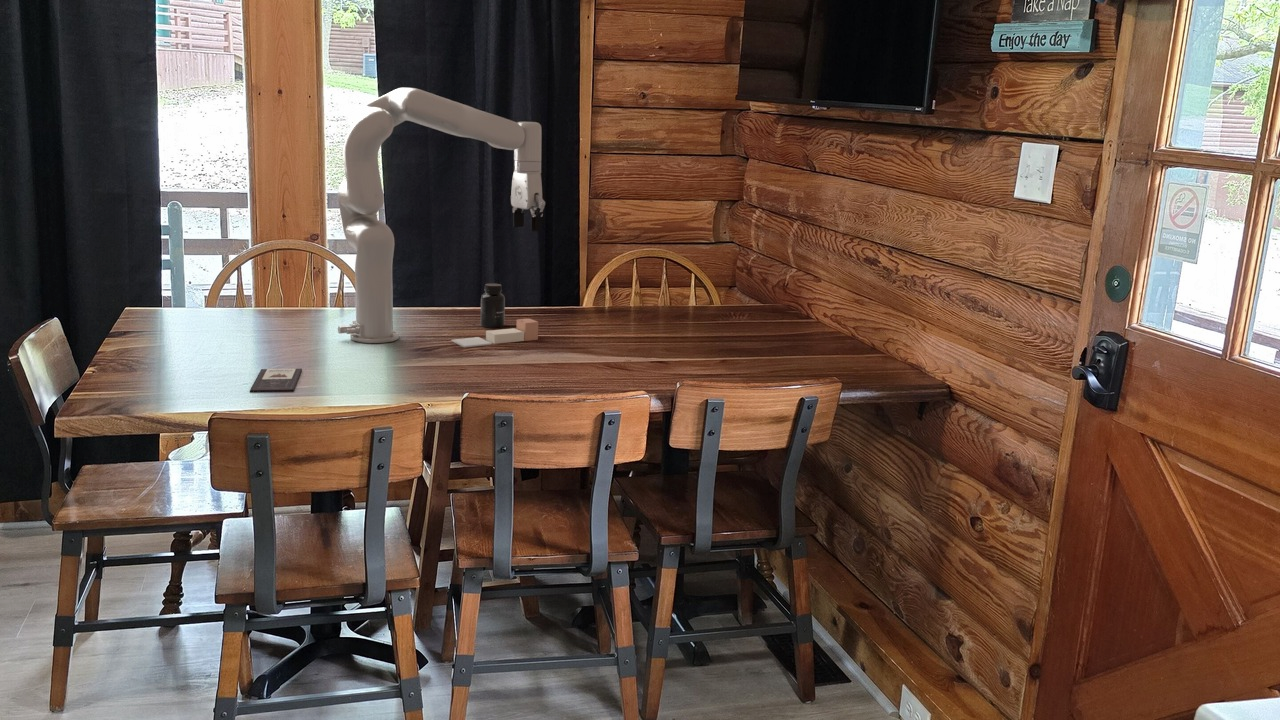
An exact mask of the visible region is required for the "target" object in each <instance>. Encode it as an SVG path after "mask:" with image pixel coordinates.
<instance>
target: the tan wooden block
mask: <svg viewBox="0 0 1280 720" xmlns="http://www.w3.org/2000/svg"><path fill="white" fill-rule="evenodd" d="M515 328H517V329H519V330H522V331H524V341H525V342H526V341H527V342H528V341H536V340H539V321H537V320H536V319H532V318H519V319H516V327H515ZM524 341H523V342H524Z"/></svg>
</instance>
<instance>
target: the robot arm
mask: <svg viewBox="0 0 1280 720" xmlns="http://www.w3.org/2000/svg"><path fill="white" fill-rule="evenodd" d="M405 121H408V122H412V123H415V124H418V125H421V126H424V127H426V128H427V127H428V128H430V129H434V130H437V131H440V132H443V133H446V134H448V135H452V136H455V137H460V138H466V139H467V138H468V139H469V138H470V139H473V140H478V141H482V142H485V143H487V144H488V146H491V147H492V148H496V149H502V150H507V151H508V150H509V151H513V174H512V180H511V188H510V190H511V193H510V194H511V195H510V196H509V197H510V205H511V208H512V209H511V211H512V214H513V215H512V218H513V219H512V226H513V227H514V228H523V227H524V226H525V212H523V211H524V210H529V211H530V214H531V216H530V232H541V231H542V229H543V227H542V226H543V225H542V224H543V223H542V221H543V220H542V217H543V215H544V211H545V206H546V201H545V200H544V198H543V185H542V182H543V181H542V124H540V122H536V121H514V120H511V119H508V118H506V117H503V116H499V115H496V114H493V113H490V112H487V111H483V110H480V109H477V108H474V107H472V106H470V105H468V104H463V103H460V102H458V101H455V100H451V99H449V98H446V97H443V96H439V95H438V94H437V95H436V94H435V93H432V92H428V91H426V90H423V89H419V88H416V87H398V88H396V89H393V90H392V91H389V92H387V93H386V94H383V95H382V96H379V97H378V98H376V99H374V100H371V101H369V102H367V103H365V104H363V105H361V106H359V107H357V108H356V109H355V110H354V111H353V112H352V114H351V115H350V119H349V125H350V126H349V127H350V130H349V132H348V133H347V136H346V138H345V141H344V143H343V144H344V145H343V152H342V157H343V166H344V174H345V179H343V180H342V181H341V183H340V185H339V188H338V190H337V198H338V199H337V200H338V207H339V212H340V217H341V218H340V219H341V223H342V228H343V233H344V237H345V240H346V242H347V243H348V245H349V246H350V247H351V248H352V249H354V250H355V251H356V257H355V264H354V266H355V267H354V281H355V282H354V283H355V284H354V285H355V320H353V321H352V323H350V324H349V325H340V326H338V327H337V333H338V334H346V335H350V336H349V337H350V339H351V341H353V342H356V343H357V342H358V343H364V344H384V343H391V342H395V341H398V340H399V339H400V334H399V332H397V331H395V330H394V311H393V310H394V306H393V305H394V304H393V303H394V301H393V299H394V294H393V293H394V291H393V285H394V284H393V260H394V252H395V237H394V233H393V231H392V229H391V228H390V226H389V225H387V224H386V223H385V222H383V221H382V220H380V219H378V212H379V211H380V210H381V209H382V207H383V206H384V201H385V196H384V195H385V194H384V192H383V185H382V179H381V175H380V168H379V150H380V149H381V146H382V145H383V143H384V142H385V141H386V140H387V139H388V138H390V137H391V135H392V133H393V131H394V128H395V127H396V126H398V125H400V124H402V123H404V122H405Z"/></svg>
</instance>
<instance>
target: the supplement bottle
mask: <svg viewBox="0 0 1280 720" xmlns="http://www.w3.org/2000/svg"><path fill="white" fill-rule="evenodd" d="M502 286H503V285H502V284H501V283H485V284H484V293H483V294H481V297H480V326H481V327H484V328H490V329H494V328H495V329H496V328H503V327H504V325H505V310H506V304H505V303H506V298H505V295H504V294H503V293H502V291H503V290H502V288H503V287H502Z"/></svg>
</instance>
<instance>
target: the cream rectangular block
mask: <svg viewBox="0 0 1280 720" xmlns="http://www.w3.org/2000/svg"><path fill="white" fill-rule="evenodd" d="M485 340H486V341H488V342H490V343H492V344H494V345H495V344H496V345H498V344H506V343H507V344H508V343H515V342H516V343H517V342H524V331H522V330H519V329H517V328H516V327H514V328H513V327H511V328H502V329H494V330H492V329H491V330H485Z"/></svg>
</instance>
